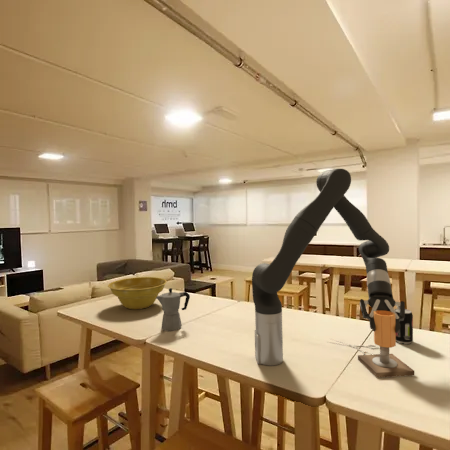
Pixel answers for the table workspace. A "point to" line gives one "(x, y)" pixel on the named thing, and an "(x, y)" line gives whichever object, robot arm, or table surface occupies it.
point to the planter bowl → (137, 291)
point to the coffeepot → (172, 309)
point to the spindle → (385, 364)
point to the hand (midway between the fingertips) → (385, 330)
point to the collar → (384, 328)
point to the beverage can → (405, 328)
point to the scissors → (352, 345)
